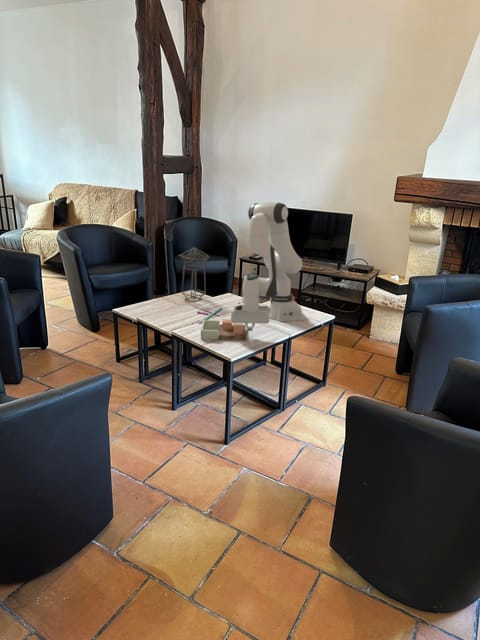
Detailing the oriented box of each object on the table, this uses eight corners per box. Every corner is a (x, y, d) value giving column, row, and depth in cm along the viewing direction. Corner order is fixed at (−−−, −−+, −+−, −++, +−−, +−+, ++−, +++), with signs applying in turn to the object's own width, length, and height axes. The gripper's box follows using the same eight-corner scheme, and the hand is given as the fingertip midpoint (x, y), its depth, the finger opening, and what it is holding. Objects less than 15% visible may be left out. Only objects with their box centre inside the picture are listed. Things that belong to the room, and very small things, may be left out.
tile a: (242, 330, 235) (243, 323, 234) (242, 334, 231) (243, 326, 229) (233, 330, 235) (233, 323, 234) (233, 333, 231) (233, 326, 229)
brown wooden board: (245, 329, 244) (245, 325, 243) (245, 340, 229) (245, 335, 228) (220, 328, 244) (220, 324, 243) (218, 339, 229) (218, 335, 228)
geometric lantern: (193, 294, 304) (194, 244, 292) (210, 300, 295) (211, 248, 283) (176, 299, 293) (176, 247, 281) (193, 305, 283) (194, 251, 271)
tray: (219, 328, 244) (219, 320, 242) (218, 339, 229) (218, 330, 227) (203, 328, 244) (203, 319, 242) (200, 339, 229) (200, 330, 227)
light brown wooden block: (231, 326, 241) (231, 319, 240) (231, 329, 236) (231, 322, 235) (222, 326, 241) (222, 319, 239) (222, 329, 236) (222, 322, 235)
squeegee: (207, 305, 279) (221, 307, 275) (207, 308, 279) (221, 310, 276) (184, 320, 254) (200, 322, 251) (184, 322, 255) (200, 325, 251)
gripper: (270, 304, 231) (268, 328, 236) (231, 303, 231) (230, 327, 235) (271, 307, 225) (269, 333, 230) (231, 307, 225) (230, 332, 229)
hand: (249, 330), depth 232 cm, fingers closed
